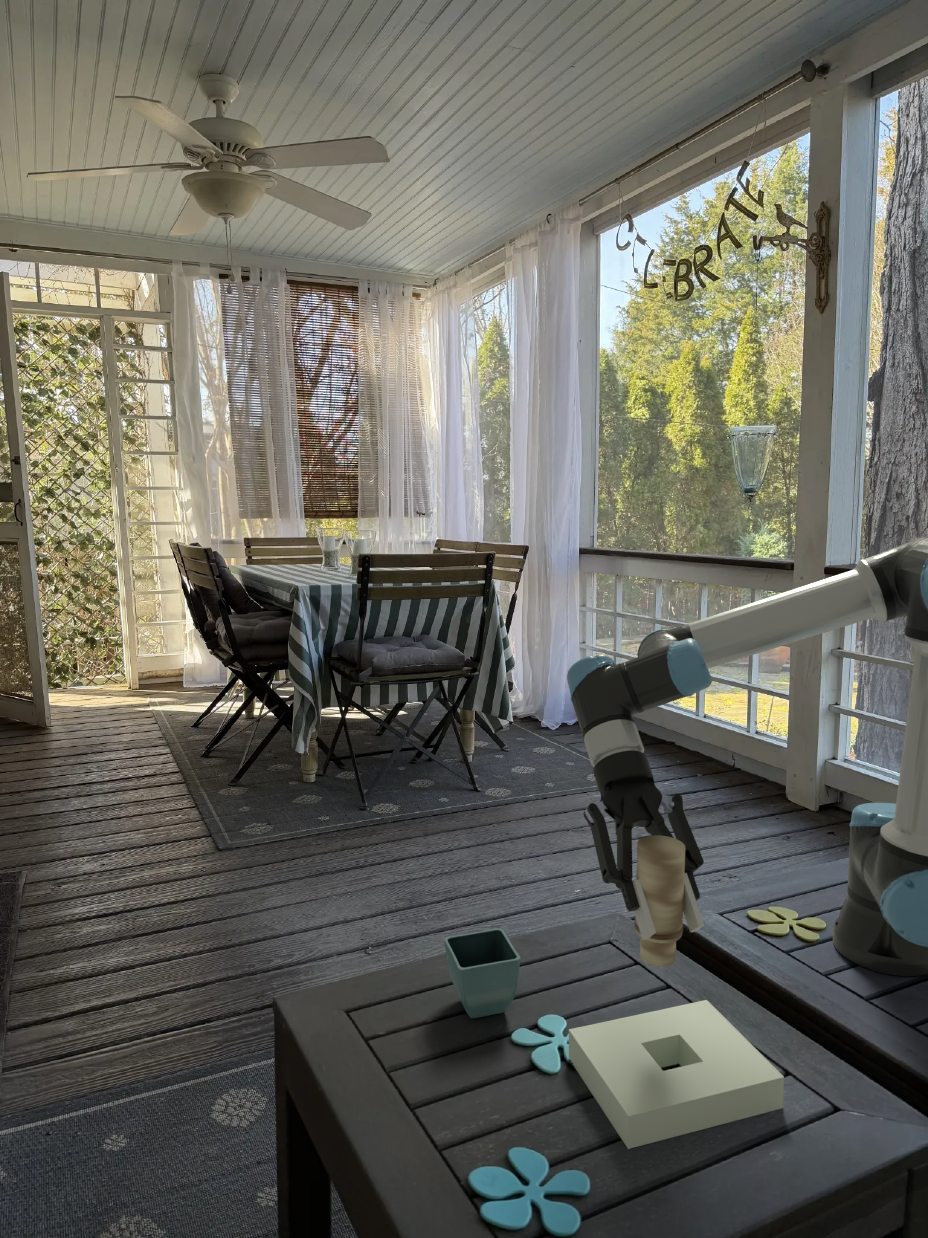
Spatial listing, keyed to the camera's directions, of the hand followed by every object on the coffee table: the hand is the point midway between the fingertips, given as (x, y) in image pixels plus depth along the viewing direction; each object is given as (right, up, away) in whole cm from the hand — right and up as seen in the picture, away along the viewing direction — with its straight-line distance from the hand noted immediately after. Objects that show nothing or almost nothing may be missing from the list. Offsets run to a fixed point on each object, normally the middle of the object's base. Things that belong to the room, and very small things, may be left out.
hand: (673, 932), depth 104 cm
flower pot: (-23, -17, +16) cm, 33 cm away
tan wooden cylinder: (-1, -5, +4) cm, 7 cm away
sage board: (0, -18, 0) cm, 18 cm away
